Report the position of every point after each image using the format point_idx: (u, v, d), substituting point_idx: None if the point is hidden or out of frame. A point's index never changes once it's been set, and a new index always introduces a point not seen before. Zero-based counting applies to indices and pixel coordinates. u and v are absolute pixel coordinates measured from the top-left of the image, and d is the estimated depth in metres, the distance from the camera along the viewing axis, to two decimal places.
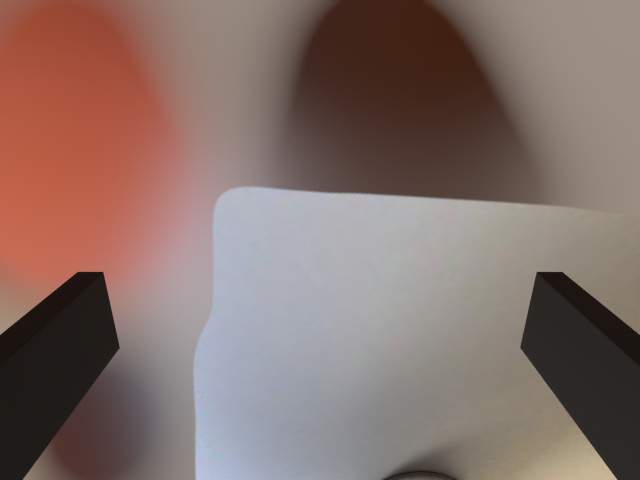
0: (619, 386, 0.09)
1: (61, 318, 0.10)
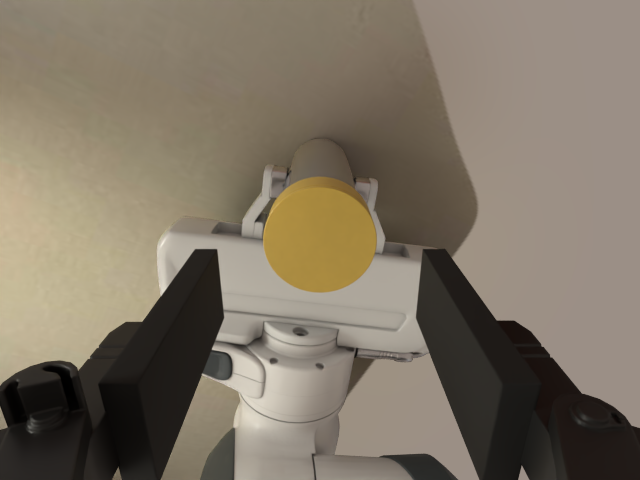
0: (455, 338, 0.10)
1: (200, 284, 0.12)
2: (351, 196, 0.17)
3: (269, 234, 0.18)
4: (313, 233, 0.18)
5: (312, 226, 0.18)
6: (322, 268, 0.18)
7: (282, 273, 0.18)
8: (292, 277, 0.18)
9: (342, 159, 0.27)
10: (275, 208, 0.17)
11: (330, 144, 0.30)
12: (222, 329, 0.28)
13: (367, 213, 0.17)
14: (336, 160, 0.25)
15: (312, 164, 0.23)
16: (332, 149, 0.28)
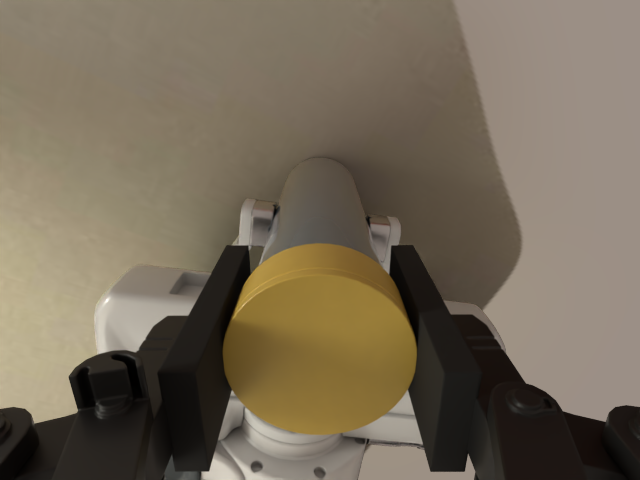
0: (413, 331, 0.11)
1: (237, 279, 0.12)
2: (375, 289, 0.10)
3: (232, 349, 0.10)
4: (308, 347, 0.10)
5: (306, 337, 0.10)
6: (324, 400, 0.11)
7: (256, 407, 0.11)
8: (274, 413, 0.11)
9: (351, 191, 0.19)
10: (241, 308, 0.10)
11: (333, 167, 0.22)
12: None
13: (402, 316, 0.10)
14: (343, 196, 0.17)
15: (308, 207, 0.15)
16: (336, 175, 0.21)
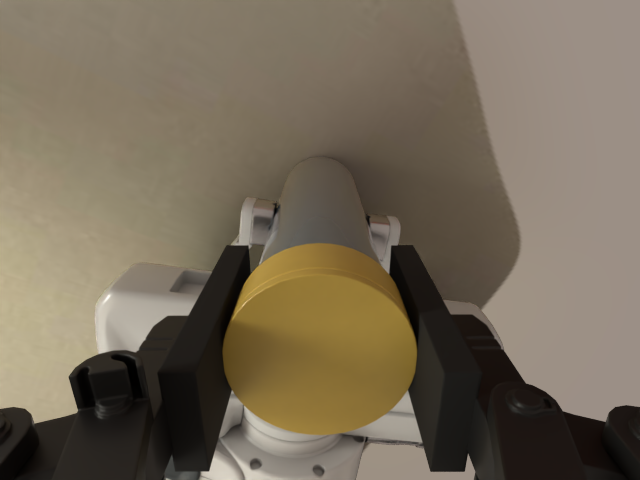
0: None
1: (236, 279, 0.12)
2: (225, 335, 0.10)
3: (325, 428, 0.11)
4: (306, 374, 0.11)
5: (294, 378, 0.11)
6: (366, 348, 0.10)
7: (389, 401, 0.11)
8: (393, 386, 0.11)
9: (351, 191, 0.19)
10: (281, 426, 0.11)
11: (334, 166, 0.23)
12: None
13: (245, 305, 0.10)
14: (343, 195, 0.17)
15: (309, 206, 0.15)
16: (337, 175, 0.21)
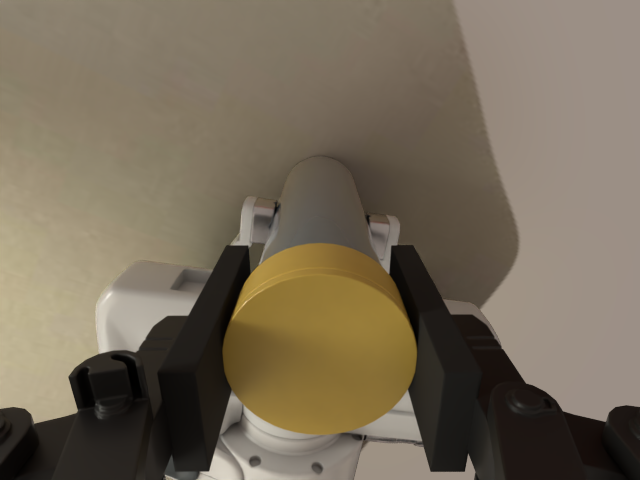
0: None
1: (237, 279, 0.12)
2: (312, 433, 0.11)
3: (405, 340, 0.10)
4: (337, 370, 0.10)
5: (344, 379, 0.11)
6: (292, 327, 0.10)
7: (353, 289, 0.10)
8: (332, 290, 0.10)
9: (351, 190, 0.20)
10: (411, 376, 0.11)
11: (334, 166, 0.23)
12: None
13: (277, 425, 0.11)
14: (343, 195, 0.18)
15: (309, 205, 0.15)
16: (337, 174, 0.21)
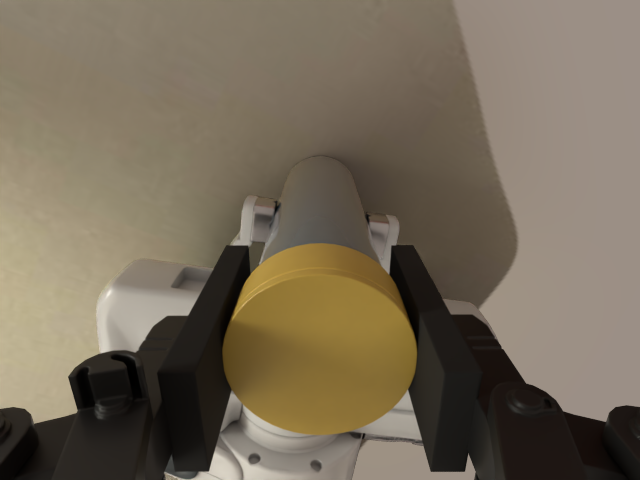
0: None
1: (236, 279, 0.12)
2: (416, 348, 0.10)
3: (270, 297, 0.10)
4: (325, 345, 0.10)
5: (334, 337, 0.10)
6: (287, 390, 0.11)
7: (231, 353, 0.10)
8: (238, 369, 0.10)
9: (351, 189, 0.20)
10: (315, 275, 0.10)
11: (334, 165, 0.23)
12: None
13: (409, 381, 0.11)
14: (343, 194, 0.18)
15: (309, 204, 0.16)
16: (337, 174, 0.21)
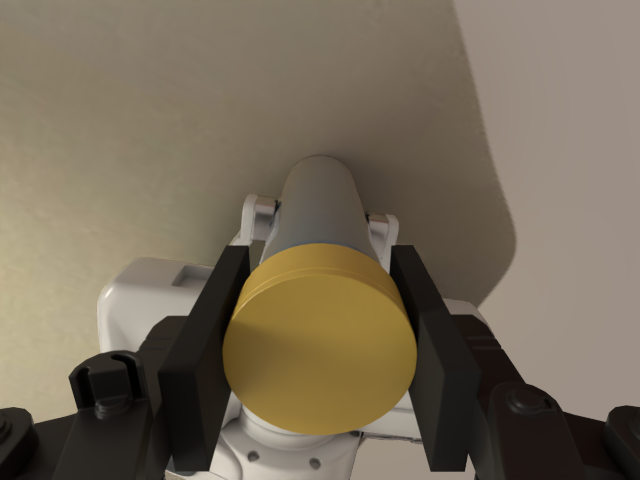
0: None
1: (236, 279, 0.12)
2: (278, 282, 0.10)
3: (261, 410, 0.11)
4: (299, 361, 0.10)
5: (287, 357, 0.10)
6: (361, 381, 0.11)
7: (329, 429, 0.11)
8: (345, 421, 0.11)
9: (351, 189, 0.20)
10: (229, 382, 0.11)
11: (334, 165, 0.23)
12: None
13: (321, 276, 0.10)
14: (343, 193, 0.18)
15: (310, 203, 0.16)
16: (337, 173, 0.21)
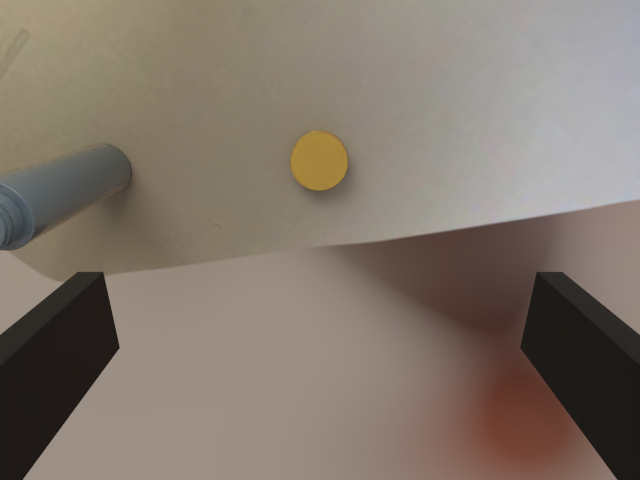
0: (619, 386, 0.09)
1: (61, 318, 0.10)
2: (307, 135, 0.35)
3: (301, 180, 0.36)
4: (313, 162, 0.35)
5: (309, 160, 0.35)
6: (331, 169, 0.36)
7: (322, 187, 0.36)
8: (327, 185, 0.36)
9: (91, 206, 0.33)
10: (292, 170, 0.36)
11: (118, 188, 0.36)
12: None
13: (319, 134, 0.35)
14: (83, 209, 0.31)
15: (70, 201, 0.28)
16: (106, 195, 0.34)
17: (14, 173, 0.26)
